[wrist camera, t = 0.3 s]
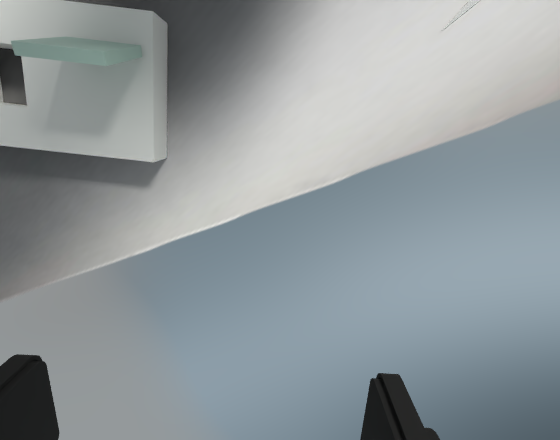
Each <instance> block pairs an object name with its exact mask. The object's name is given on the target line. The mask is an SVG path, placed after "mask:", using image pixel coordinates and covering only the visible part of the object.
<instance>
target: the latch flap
mask: <svg viewBox="0 0 560 440" xmlns="http://www.w3.org/2000/svg"><path fill="white" fill-rule="evenodd" d="M11 44H12V47H13V51H14V54H15V55H16V56H24V57H33V58H42V59H50V60H59V61H67V62H76V63H84V64H93V65H102V66H108V65H112V64H116V63H120V62H124V61H128V60H132V59H136V58H140V57H142V50H141V45H134V44H126V43H117V42H109V41H100V40H92V39H84V38H75V37H67V36H65V37H52V38H39V39H26V40H13V41H11Z"/></svg>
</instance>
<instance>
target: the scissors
mask: <svg viewBox="0 0 560 440" xmlns="http://www.w3.org/2000/svg"><path fill="white" fill-rule="evenodd" d="M478 1H480V0H470V1H469V2H468V3H467V4H466V5H465V6H464V7H463V8H462V9H461V10H460V12H459V13H458V14H457V15H456V16H455V17H454V18H453V19H452V20H451V21H450V22H449V24H448V25H447V26H449V25H450V24H451V23H452V22H454V21H455V20H456V19H457V18H459V17H460V16H461V15H462V14H464V13H465V12H466V11H467V10H469V9H470V8H471V7H472V6H473V5H475V4H476V3H477V2H478ZM447 26H446V27H447ZM446 27H445V28H446ZM445 28H444V29H445ZM444 29H443V30H444Z"/></svg>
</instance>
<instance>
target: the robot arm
mask: <svg viewBox="0 0 560 440" xmlns="http://www.w3.org/2000/svg"><path fill="white" fill-rule="evenodd" d="M58 438H59V428H58V423H57V418H56V412H55V407H54V402H53V396H52V392H51V386H50V381H49V376H48V370H47V365H46V363H45V362H43V361H42V359H41V358H40V356H37V355H14V356H12V357H11V358H9V359H8V360H7V361H6V362H5V363H4V364H2V365H1V366H0V440H58ZM361 440H440V439H439V437H438V435H437V434H436V432H435V431H434V430H432V429H431V428H424V426H423V424H422V422H421V420H420V418H419V416H418V413H417V411H416V409H415V407H414V405H413V403H412V400H411V398H410V396H409V394H408V392H407V389H406V387H405V385H404V383H403V381H402V379H401V377H400V375H398V374H383V373H379V374H378V375H377V377H376V379H373V378H372V379H371V381H370V386H369V392H368V398H367V404H366V410H365V415H364V421H363V428H362V434H361Z"/></svg>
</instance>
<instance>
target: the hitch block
mask: <svg viewBox="0 0 560 440" xmlns="http://www.w3.org/2000/svg"><path fill="white" fill-rule="evenodd" d="M65 36H67V37H75V38H84V39H92V40H100V41H109V42H117V43H126V44H134V45H141V50H142V57H140V58H136V59H132V60H128V61H124V62H120V63H116V64H112V65H108V66H102V65H93V64H84V63H76V62H67V61H59V60H50V59H42V58H33V57H24V56H21V57H22V66H23V75H24V83H25V92H26V101H27V105H21V104H12V103H4V100H3V93H2V85H1V78H0V146H10V147H19V148H28V149H37V150H46V151H55V152H64V153H73V154H82V155H92V156H101V157H110V158H119V159H128V160H137V161H146V162H156V161H160V160H163V159H166V158H167V36H168V24H167V23H166V22H165V21H164V20H163V19H161V18H160V17H159V16H158V15H157V14H156V13H154V12H153V11H147V10H139V9H130V8H122V7H114V6H106V5H97V4H89V3H81V2H72V1H64V0H0V48H6V49H13V47H12V44H11V41H13V40H26V39H39V38H52V37H65Z"/></svg>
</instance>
